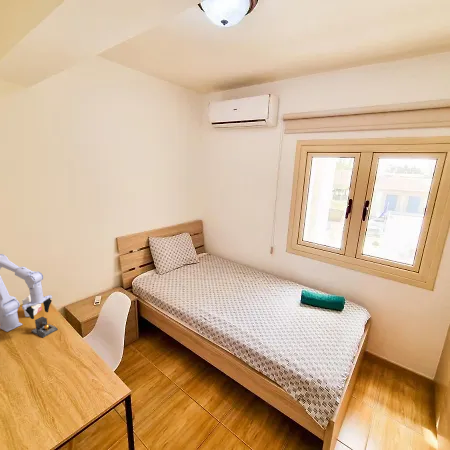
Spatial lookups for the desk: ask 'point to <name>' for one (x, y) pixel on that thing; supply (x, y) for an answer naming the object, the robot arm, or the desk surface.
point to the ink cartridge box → (36, 307)
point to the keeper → (44, 330)
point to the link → (40, 326)
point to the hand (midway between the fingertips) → (39, 315)
